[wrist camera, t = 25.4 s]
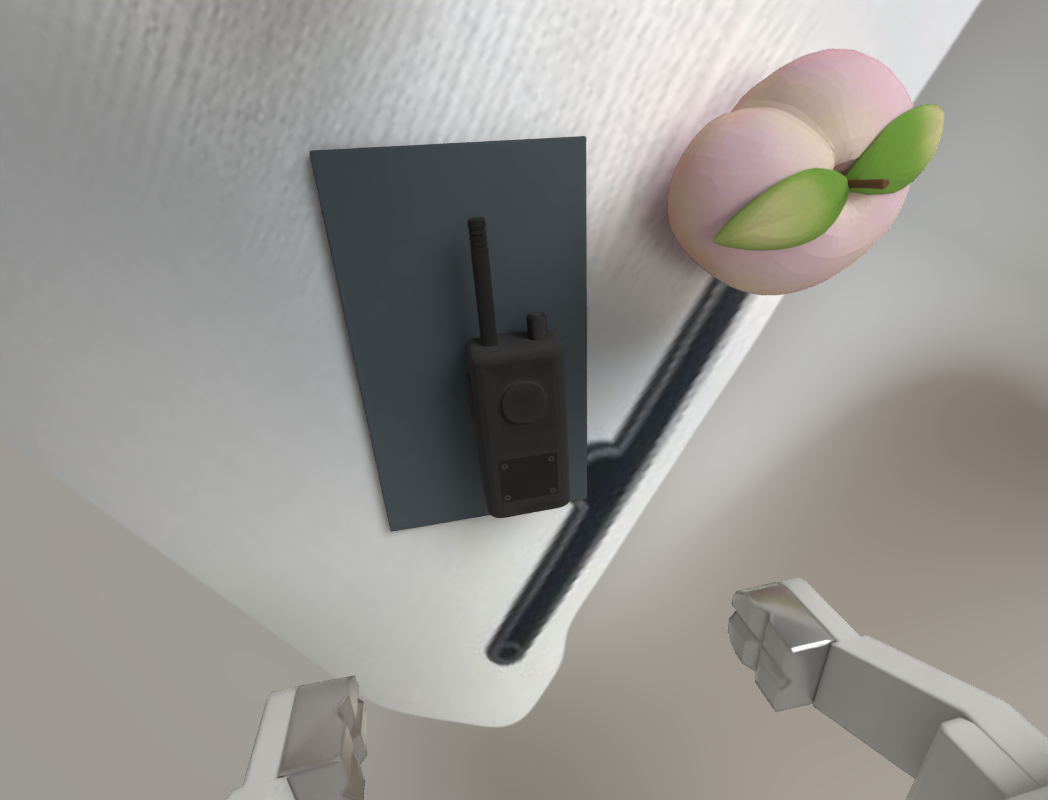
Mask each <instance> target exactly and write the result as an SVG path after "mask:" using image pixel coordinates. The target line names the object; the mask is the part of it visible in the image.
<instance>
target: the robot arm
mask: <svg viewBox="0 0 1048 800" xmlns="http://www.w3.org/2000/svg"><path fill="white" fill-rule="evenodd" d="M732 605H733V607H734V608H735V609H736V611H735V612H734V614H733V615H732V616H731V617H730V618H729V624H728V633H729V638H730V642H731V645H732V647H733V649H734V651H735V653H736V655H737V656H738V658H739V659H740V660H741V662H742V663H743V664H744V665H746V666H747V667H749V668H751V669H752V670H754V671H755V682H756V684H757V686H758V687H759V689H760V690H761V692H762V693H763V694H764V696H765V697H766V699H767V700H768V701H769V703H770V705H771V706H772V707H773V709H774V710H775V712H778V711H783V710H787V709H792V708H796V707H800V706H804V705H809V704H813V703H814V704H813V706H814V707H815V708H816V709H818V710H819V711H821V712H822V713H823V714H825V715H826V716H828V717H829V718H830V719H832V720H833V721H835V722H836V723H838V724H839V725H840V726H842V727H843V728H844V729H846V730H847V731H849V732H850V733H851V734H853V735H854V736H855V737H857V738H858V739H860V740H861V741H863V742H864V743H865V744H867V745H868V746H869V747H871V748H872V749H874V750H875V751H876V752H878V753H879V754H881V755H882V756H883V757H885V758H886V759H888V760H889V761H890V762H892V763H893V764H895V765H896V766H897V767H899V768H900V769H902V770H903V771H904V772H906V773H907V774H909V775H910V776H912V777H913V778H914V779H915V780H914V782H913V784H912V786H911V788H910V791H909V793H908V795H907V797H906V800H1048V738H1046V737H1045V736H1044V735H1043V734H1042V733H1041V732H1040V731H1039V730H1037V729H1036V728H1035V727H1034V726H1033V725H1032V724H1031V723H1029V722H1028V721H1027V720H1026V719H1025V718H1024V717H1023V716H1022V715H1020V714H1019V713H1018V712H1017V711H1016V710H1015V709H1014V708H1013V707H1011V706H1010V705H1009V704H1008V703H1007V702H1005V701H1003V700H1001V699H999V698H997V697H995V696H993V695H990V694H988V693H986V692H984V691H982V690H980V689H978V688H976V687H974V686H972V685H970V684H967V683H965V682H963V681H961V680H959V679H957V678H955V677H953V676H951V675H948V674H947V673H945V672H942V671H940V670H938V669H936V668H934V667H932V666H930V665H928V664H926V663H924V662H922V661H919V660H917V659H915V658H913V657H911V656H909V655H907V654H905V653H903V652H901V651H899V650H897V649H894V648H892V647H890V646H888V645H886V644H884V643H882V642H880V641H878V640H876V639H873V638H872V637H869V636H867V635H863V636H859V635H858V634H857V633H856V632H855V631H854V630H853V629H852V628H851V627H850V626H849V625H848V624H847V623H846V622H845V621H844V620H843V619H842V618H841V617H840V616H839V615H838V613H836V611H835V610H834V609H833V608H832V607H830V606H829V604H828V603H827V602H826V601H825V600H824V599H823V598H822V597H821V596H820V595H819V594H818V593H817V592H816V591H815V590H814V589H813V588H812V587H811V586H810V585H809V584H808V583H807V582H806V581H804V580H802V579H801V578H795V579H790V580H786V581H782V582H777V583H775V582H774V583H770V584H766V585H761V586H757V587H753V588H748V589H745V590H740V591H737V592H736V593H735V594H734V595H733V599H732ZM358 692H359V685H358V682H357V679H356V676H349V677H344V678H338V679H333V680H328V681H323V682H317V683H312V684H307V685H302V686H297V687H292V688H287V689H282V690H278V691H273V692H271V694H270V696H269V698H268V699H267V701H266V704H265V707H264V711H263V715H262V718H261V722H260V726H259V729H258V733H257V736H256V740H255V744H254V747H253V750H252V754H251V757H250V761H249V765H248V768H247V772H246V775H245V779H244V783H243V786H242V787H240V788H236V789H233V790H232V792H231V793H230V794H229V795H228V797H227V798H226V799H225V800H363V799H364V786H365V780H364V776H363V773H362V770H361V766H360V765H361V764H362V762H363V761H364V759H365V757H366V756H367V747H368V722H367V715H366V709H365V706H364V702H363V701H362V700H360V699H358Z"/></svg>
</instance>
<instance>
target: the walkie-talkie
mask: <svg viewBox="0 0 1048 800" xmlns="http://www.w3.org/2000/svg"><path fill="white" fill-rule="evenodd" d="M467 224H468V229H469V231H468V233H469V235H470V237H469V240H470V241H471V242H470V246H471V248H470V250H471V259H472V268H473V277H474V285H475V294H476V303H477V312H478V320H479V329H480V337H477V338H473V339H470V340H469V341H468V342H467V344H466V348H465V349H466V357H467V365H468V372H469V373H468V374H466V375H465V382H466V389H467V397H468V405H469V412H470V418H471V419H472V420H475V427H476V435H477V442H478V450H479V458H480V466H481V473H482V481H483V489H484V495H485V500H486V504H487V509H488V512H489V514H490V515H491V516H493V517H496V518H505V517H511V516H516V515H522V514H527V513H532V512H538V511H543V510H549V509H554V508H559V507H563V506H565V505H566V504H568V502H569V501H570V483H569V457H568V432H567V406H566V381H565V356H564V346H563V344H562V342H561V341H560V340H559V339H558V338H557V337H556V336H555V334H554V333H553V332H551V331H550V330H547V317H546V315H545V314H544V313H542V312H533V313H530V314H528V315H527V317H526V320H527V331H522V332H514V333H506V334H499V335H497V330H496V320H495V310H494V300H493V290H492V280H491V270H490V260H489V250H488V247H487V245H488V241H487V240H486V239H487V235H486V233H487V230H485V228H486V221H485V218H484V217H473V218H469V219H468V221H467Z"/></svg>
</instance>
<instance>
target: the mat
mask: <svg viewBox="0 0 1048 800" xmlns="http://www.w3.org/2000/svg"><path fill="white" fill-rule="evenodd" d="M310 157H311V162H312V166H313V171H314V176H315V180H316V185H317V189H318V194H319V199H320V203H321V208H322V213H323V217H324V222H325V227H326V231H327V236H328V241H329V245H330V250H331V255H332V259H333V264H334V269H335V273H336V278H337V283H338V287H339V292H340V297H341V301H342V306H343V311H344V315H345V320H346V325H347V329H348V334H349V339H350V343H351V348H352V353H353V357H354V362H355V367H356V371H357V376H358V381H359V385H360V390H361V395H362V399H363V404H364V409H365V413H366V418H367V423H368V427H369V432H370V437H371V441H372V446H373V451H374V455H375V460H376V465H377V469H378V474H379V479H380V483H381V488H382V493H383V497H384V502H385V507H386V511H387V516H388V521H389V525H390V530H391V532H392V531H398V530H404V529H410V528H416V527H422V526H428V525H433V524H439V523H445V522H451V521H457V520H463V519H469V518H475V517H481V516H487V515H490V514H489V512H488V509H487V504H486V500H485V495H484V489H483V481H482V473H481V466H480V458H479V450H478V442H477V435H476V427H475V420H472V419H471V418H470V412H469V405H468V397H467V389H466V382H465V375H466V374H468V373H469V372H468V365H467V357H466V349H465V348H466V344H467V342H468V341H469V340H470V339H473V338H477V337H480V329H479V320H478V312H477V303H476V294H475V285H474V277H473V268H472V259H471V250H470V248H471V246H470V242H471V241H470V240H469V237H470V235H469V233H468V231H469V229H468V224H467V221H468V219H469V218H473V217H484V218H485V221H486V228H485V230H487V233H486V235H487V239H486V240H487V241H488V245H487V247H488V250H489V260H490V270H491V280H492V290H493V300H494V310H495V320H496V330H497V335H499V334H506V333H514V332H522V331H527V320H526V317H527V315H528V314H530V313H533V312H542V313H544V314H545V315H546V317H547V330H550V331H551V332H553V333H554V334H555V336H556V337H557V338H558V339H559V340H560V341H561V342H562V344H563V346H564V356H565V381H566V406H567V432H568V457H569V483H570V501H575V500H581V499H586V498H587V308H586V137H585V136H581V137H562V138H543V139H524V140H505V141H486V142H467V143H448V144H429V145H410V146H391V147H372V148H353V149H334V150H315V151H310Z"/></svg>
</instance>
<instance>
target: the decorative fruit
mask: <svg viewBox="0 0 1048 800" xmlns="http://www.w3.org/2000/svg"><path fill="white" fill-rule="evenodd" d="M943 127H944V111H943V109H942V108H940V107H939V106H936V105H930V104H927V105H921V106H918V107H915V108H914V106H913V104H912V101H911V99H910V96H909V94H908V92H907V90H906V88H905V87H904V86H903V84H902V83H901V82H900V81H899V79H898V78H897V77H896V76H895V74H894V73H893V72H892V71H891V70H890V69H889V68H888V67H887V66H885V65H884V64H883V63H881V62H880V61H879V60H876V59H874V58H872V57H870V56H867V55H865V54H862V53H860V52H857V51H855V50H848V49H827V50H823V51H819V52H815V53H811V54H808V55H805V56H803V57H800V58H798V59H796V60H794V61H792V62H790V63H788V64H786V65H785V66H783V67H781V68H779V69H778V70H776V71H775V72H774V73H772V74H771V75H769V76H768V77H767V78H765V79H764V80H763V81H761V82H760V83H758V84H757V85H755V86H754V87H753V88H752V89H750V90H749V91H748V92H747V93H746V94H745V95H744V96H743V97H742V98H741V99H740V101H739V102H738V103H737V105H736V106H735V107H734V108H733V110H732V111H731V112H730V113H727V114H723V115H721V116H719V117H717V118H716V119H714V120H713V121H711V122H709V123H708V124H707V125H706V126H705V127H704V128H703V129H702V130H701V131H700V132H699V133H698V134H697V135H696V137H695V138H694V139H693V140H692V142H691V143H690V144H689V146H688V147H687V148H686V150H685V152H684V153H683V155H682V157H681V158H680V160H679V162H678V165H677V167H676V169H675V172H674V174H673V177H672V180H671V184H670V189H669V194H668V216H669V221H670V226H671V228H672V231H673V234H674V236H675V238H676V239H677V241H678V243H679V244H680V246H681V247H682V248H683V249H684V251H685V252H686V253H687V254H688V255H689V256H690V257H691V258H692V259H693V260H694V261H695V262H696V263H697V264H698V265H700V266H701V267H702V268H703V269H704V270H706V271H707V272H708V273H710V274H711V275H712V276H714V277H715V278H717V279H718V280H720V281H721V282H723V283H725V284H727V285H729V286H731V287H733V288H735V289H738V290H740V291H744V292H747V293H752V294H758V295H781V294H788V293H792V292H797V291H800V290H804V289H807V288H810V287H812V286H815V285H817V284H819V283H822V282H824V281H826V280H827V279H829V278H831V277H832V276H834V275H836V274H837V273H839V272H840V271H842V270H843V269H845V268H846V267H848V266H849V265H851V264H852V263H853V262H855V261H856V260H857V259H858V258H860V257H861V256H862V255H863V254H865V253H866V252H867V251H868V250H869V249H870V248H871V247H872V246H873V245H874V244H876V243H877V242H878V241H879V239H880V238H881V237H882V236H883V235H884V234H885V233H886V231H887V230H888V229H889V227H890V226H891V225H892V223H893V222H894V220H895V218H896V217H897V215H898V213H899V211H900V209H901V207H902V205H903V203H904V201H905V198H906V195H907V192H908V190H909V186H910V183H911V182H913V181H914V179H916V178H917V176H919V174H920V173H921V172H922V171H923V170H924V168H925V167H926V166H927V165H928V163H929V162H930V160H931V159H932V157H933V156H934V154H935V152H936V150H937V147H938V144H939V143H940V139H941V136H942V132H943Z"/></svg>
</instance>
